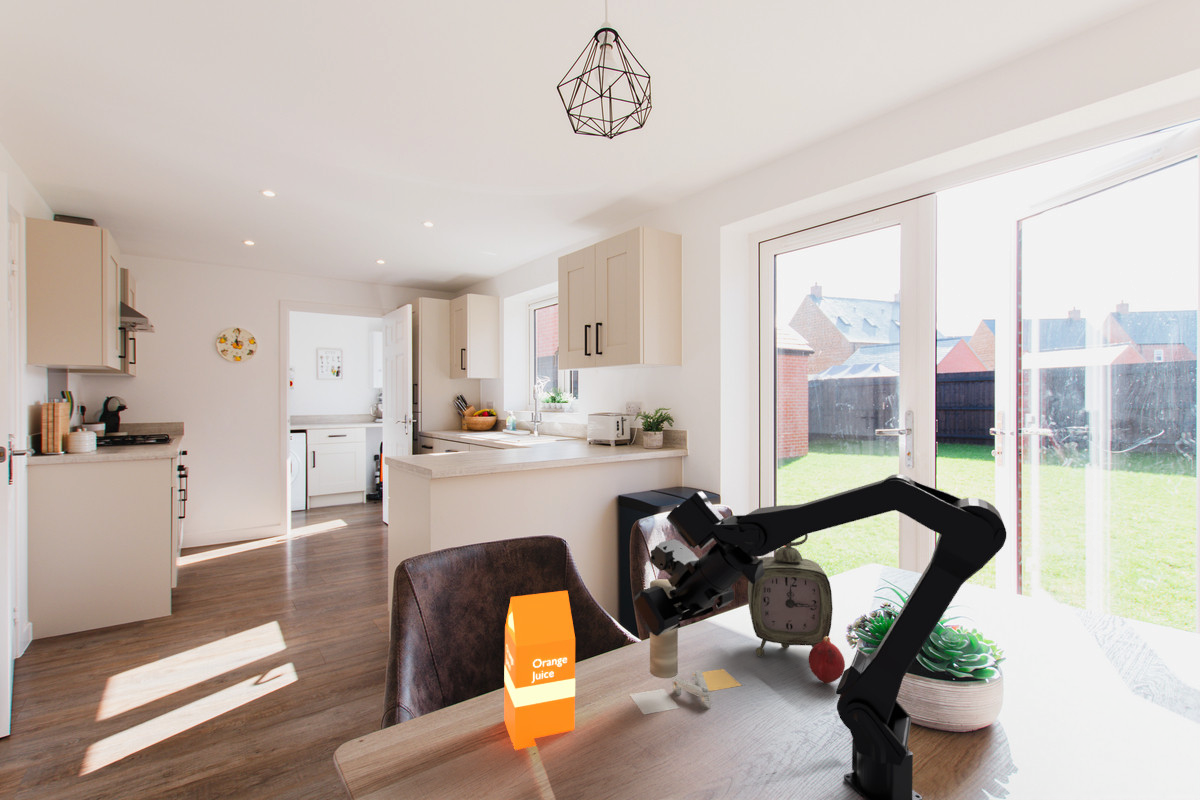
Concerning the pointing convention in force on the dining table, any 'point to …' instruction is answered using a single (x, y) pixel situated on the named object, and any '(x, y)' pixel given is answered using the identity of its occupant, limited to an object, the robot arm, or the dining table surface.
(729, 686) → the board
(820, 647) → the onion
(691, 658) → the dining table surface
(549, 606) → the orange juice
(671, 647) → the peg
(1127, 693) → the dining table surface
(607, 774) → the dining table surface
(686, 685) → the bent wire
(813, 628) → the tabletop clock
